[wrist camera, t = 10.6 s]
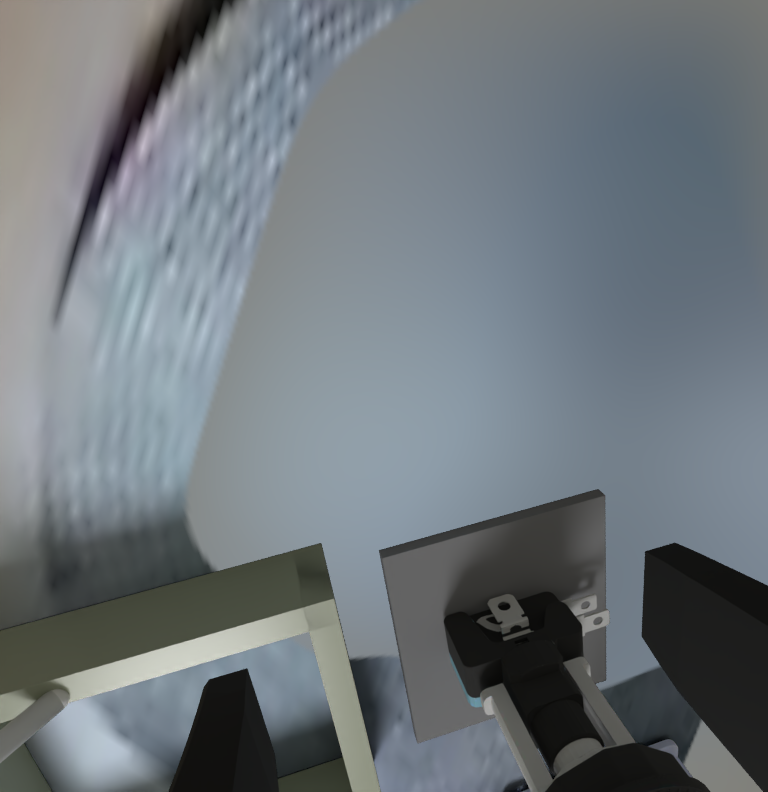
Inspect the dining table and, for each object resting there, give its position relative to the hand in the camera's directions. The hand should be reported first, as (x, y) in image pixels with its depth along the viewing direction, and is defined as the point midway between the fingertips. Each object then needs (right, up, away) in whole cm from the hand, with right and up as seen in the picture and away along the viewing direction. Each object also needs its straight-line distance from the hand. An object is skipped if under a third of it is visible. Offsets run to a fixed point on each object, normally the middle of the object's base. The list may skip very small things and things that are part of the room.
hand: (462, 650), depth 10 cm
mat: (+4, -5, +14) cm, 16 cm away
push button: (+4, -5, +14) cm, 15 cm away
